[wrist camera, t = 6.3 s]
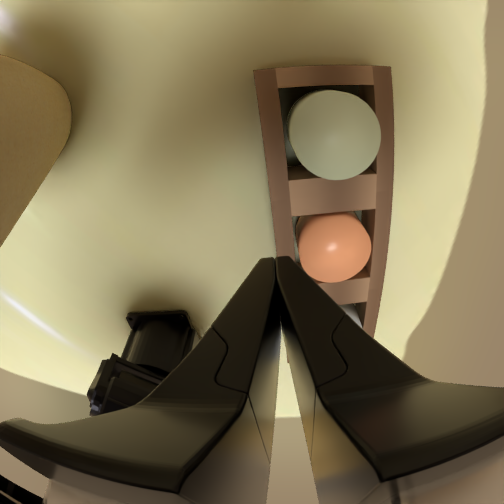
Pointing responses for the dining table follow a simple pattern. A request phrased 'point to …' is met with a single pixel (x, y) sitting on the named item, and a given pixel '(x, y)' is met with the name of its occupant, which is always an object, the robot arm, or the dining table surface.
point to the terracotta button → (332, 245)
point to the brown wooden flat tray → (333, 191)
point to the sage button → (333, 133)
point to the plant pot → (27, 135)
